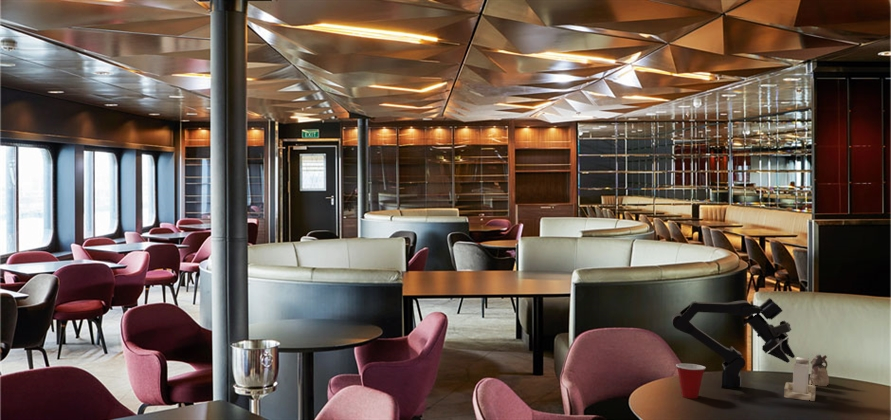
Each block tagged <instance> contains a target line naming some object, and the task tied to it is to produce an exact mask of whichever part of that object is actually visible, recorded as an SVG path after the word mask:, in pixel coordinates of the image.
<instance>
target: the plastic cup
mask: <svg viewBox="0 0 891 420" xmlns="http://www.w3.org/2000/svg"><path fill="white" fill-rule="evenodd" d="M675 367H676V369H677V374H678V379H679V386H680V390H681V395H682V397H683V398H685V399H697V398H698V397H699V394H700V389H701V385H702V379H703V375H704V372H705V369H706V366H704V365H700V364H695V363H677V364H675Z"/></svg>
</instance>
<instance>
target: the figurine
mask: <svg viewBox="0 0 891 420" xmlns="http://www.w3.org/2000/svg"><path fill="white" fill-rule="evenodd" d="M827 358H828V356H827V355H826V354H825V355H823V356H822V355H821V354H819V353H818V354H816V355H815V356H814V357H812V361H810V364H811V371H810V376H809V378H808V384H809V385H811V384H812V385H814V386H815V385H818V386H817V387H827V385H828V386H829V382H830V380H829V379H830V378H829V373H828V370H827V368H828V361H827V360H826V359H827ZM823 363H824V364H825V365H824V364H823Z"/></svg>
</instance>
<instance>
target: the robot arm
mask: <svg viewBox="0 0 891 420" xmlns="http://www.w3.org/2000/svg"><path fill="white" fill-rule="evenodd" d="M783 311H784V310H783V309H782V307H780V306H779V305H778V304H777V303H776V302H775V301H774V300H773V299H772V298H770V297H768V298H767V299H766V300H765V301H764V302H763V303H762V304H761V305H756V304H751V303H750V302H749V301H747V300H736V301H731V302H730V301H729V302H714V301H713V302H712V301H711V302H708V301H707V302H706V301H705V302H704V301H696V300H695V301H691V302H690V304H688V305H687V306H686V307H685V308H682V309H681V310H680V311H679V312H677V313H674V314H673V315H672V316H671V323H672V326H673V328H675V329H676V330H678V331H680V332H682V333H684V334H687V335H690V336H691V337H693V338H694V339H695V340H697V341H699V342H700V344H701V343H702V344H703V345H704V346H705V347H707V348H708V349H710V350H711V351H713V352H714V353H716V354H717V355H718V356H720V357H721V358H722V359H723V360H724V361H723V362H722V363H721V365H722V366H721V367H722V368H723V369H722V370H721V385H720V388H723V389H731V390H740V388H741V386H742V375H741V373H740V372H741V371H742V370H743V368H744V367H745V366H746V359H744V356H743V354H742V353H741V351H739V350H737V349H736V348H734V347H733V346H732V345H731V346H730V347H729V348H728V347H727V346H724V345H723V344H721V343H720V342H718V341H717V340H716V339H714V338H713V337H712V336H710V335H708V334H707V333H705V332H704V331H703V330H701V329H700V328H698V327H697V326H696V325H695V324H694V323H693V322H692V321H691V320H692V319H693V318H694V317H695V316H696V315H697V314H698V313H709V314H710V313H711V314H712V313H714V314H715V313H716V314H731V315H734V316H738V317H742V325H743V326H746V325H747V324H748V325H749V326H750V328H751V329H753V330H754V331H755V333H756V334H757V335H756V336H757V337H758V338H760V339H762V340H763V341H764V344H763V345H762V346H761V347H762V348H761V349H762V351H763V352H764V353H765V354H768V355H771V357H774V358H777V359H779V360H781V361H783V362H785V363H787V364H788V363H789V362H790V359H789V357H790V358H792V359H794V358H796V356H795V354H794V352H793V350H792V348H791V346H790V345H789V340H790V339H789V335H788V333H790V332H791V331H792V327H791V324H790V323H789V321H788V322H787V321H785V320H781V321H780V322H779V324H778V325H776V326H774V324H769V323H768V321H767V320H771V321H772V320H773V319H775V318H776V317H777V316H779V315H780V314H782V312H783Z"/></svg>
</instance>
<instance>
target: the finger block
mask: <svg viewBox="0 0 891 420" xmlns="http://www.w3.org/2000/svg"><path fill="white" fill-rule="evenodd" d="M792 383H793V392H794V393H802V394H808V385H809V371H808V365H805V364H798V363H796V362H795V363H794V364H793V366H792Z"/></svg>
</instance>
